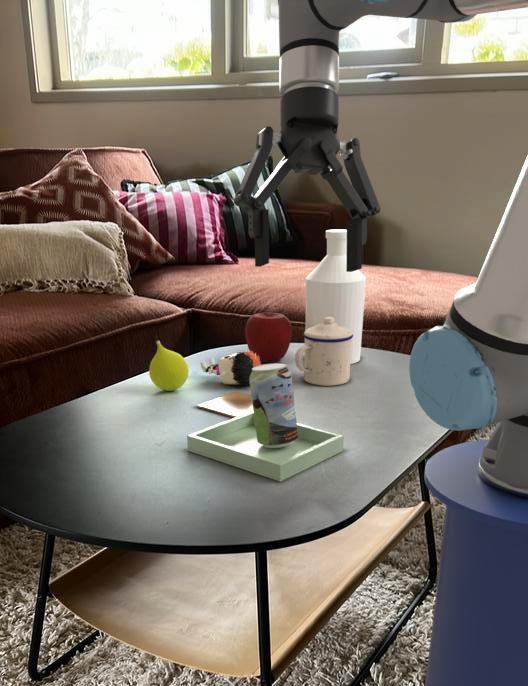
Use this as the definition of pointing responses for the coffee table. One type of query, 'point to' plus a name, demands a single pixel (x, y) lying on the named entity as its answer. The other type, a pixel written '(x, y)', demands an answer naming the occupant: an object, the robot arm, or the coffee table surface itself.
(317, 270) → the bottle
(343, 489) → the coffee table surface
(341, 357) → the teacup with lid
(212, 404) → the coaster
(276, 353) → the apple
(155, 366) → the ornament
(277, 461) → the tray
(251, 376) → the beverage can
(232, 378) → the figurine
